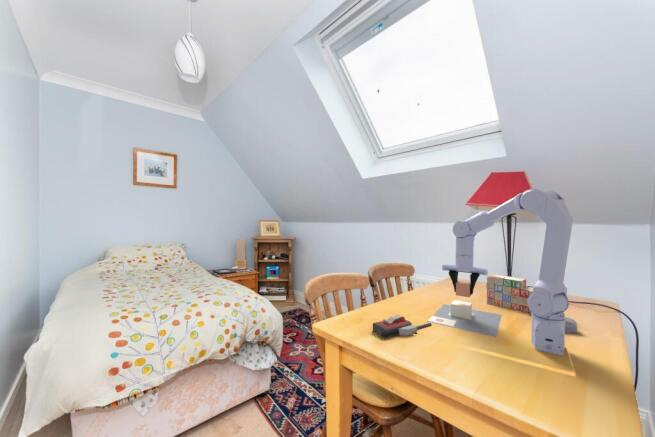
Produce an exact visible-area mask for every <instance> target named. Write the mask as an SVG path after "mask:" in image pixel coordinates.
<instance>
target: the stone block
mask: <svg viewBox="0 0 655 437" xmlns="http://www.w3.org/2000/svg"><path fill="white" fill-rule="evenodd" d="M530 316H531V317H532V313H531V315H530ZM565 333H566V334H567V333H569V334H571V333H572V334H577V333H578V323H577V321H575V319H573V318H571V317H568V316H565Z"/></svg>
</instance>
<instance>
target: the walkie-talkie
mask: <svg viewBox="0 0 655 437" xmlns="http://www.w3.org/2000/svg"><path fill="white" fill-rule="evenodd" d="M412 324H413V323H412V322H411V321H409V320H407V319H406V318H405V316H403V315H399V314H396V315H391V316H390V317H389V318H388V319H385V318H384V319H383V320H379V321H377V322H373V323H372V332H373V333H374V334H377V335H379V336H380V337H382V338H384V339H388V338H392V337H395V336H404V337H407V336H411V335H416V334H417V331H418V330H421V329H424V328H427V327H430V326H433V325H432V324H433V323H430V322H427V323H424V324H421V325H412Z"/></svg>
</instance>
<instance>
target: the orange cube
mask: <svg viewBox="0 0 655 437" xmlns="http://www.w3.org/2000/svg"><path fill="white" fill-rule="evenodd" d="M455 296H456V297H457V296H459V297H464V298H465V297H466V298H471V297H472V294H470V281H462V280H461V281H460V280H458V282H457V283H456V292H455Z"/></svg>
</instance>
